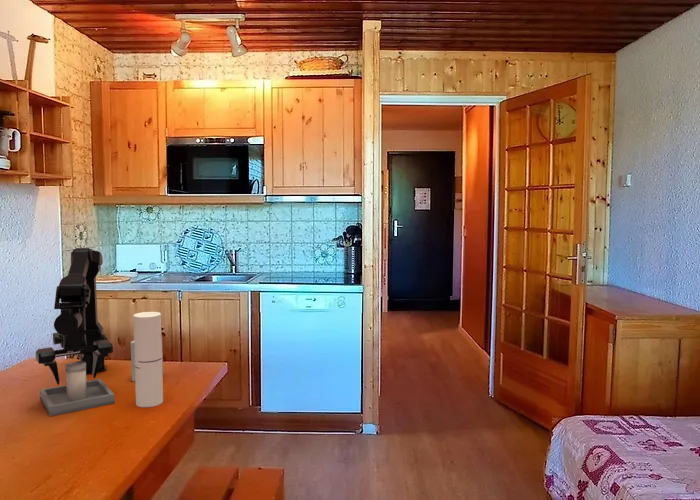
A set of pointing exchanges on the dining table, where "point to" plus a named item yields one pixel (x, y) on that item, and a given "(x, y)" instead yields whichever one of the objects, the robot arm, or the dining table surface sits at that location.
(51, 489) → the dining table surface
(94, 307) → the robot arm
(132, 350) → the supplement box
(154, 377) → the cylindrical container
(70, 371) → the shaker
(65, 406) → the tray
